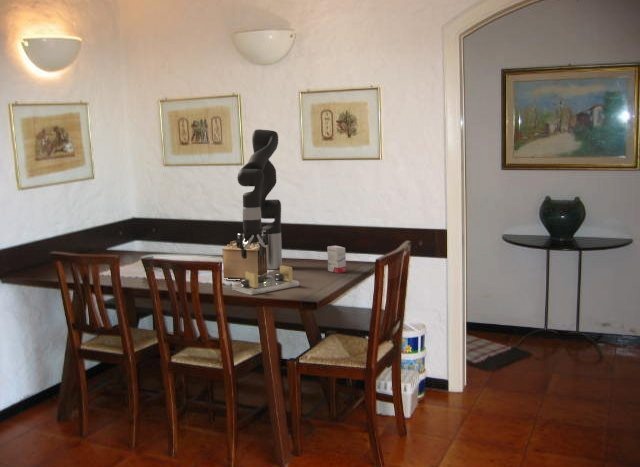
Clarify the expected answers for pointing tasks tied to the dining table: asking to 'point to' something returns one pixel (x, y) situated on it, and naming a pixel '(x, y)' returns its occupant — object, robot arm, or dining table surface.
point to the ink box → (336, 259)
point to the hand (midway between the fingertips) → (253, 257)
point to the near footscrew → (250, 279)
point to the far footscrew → (284, 273)
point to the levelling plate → (265, 285)
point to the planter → (244, 261)
